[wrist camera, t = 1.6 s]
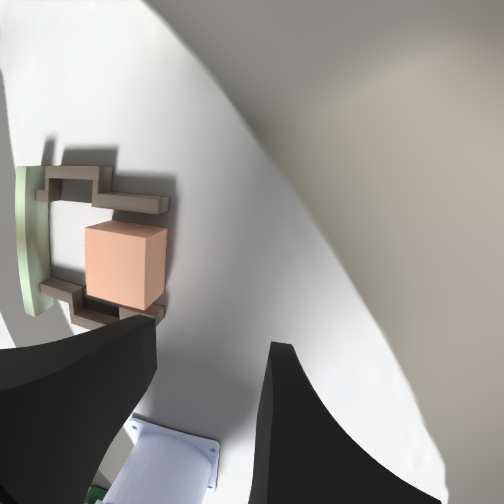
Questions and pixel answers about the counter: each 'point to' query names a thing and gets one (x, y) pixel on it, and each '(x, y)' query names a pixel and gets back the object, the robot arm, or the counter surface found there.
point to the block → (125, 262)
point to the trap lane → (37, 238)
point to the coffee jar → (94, 495)
